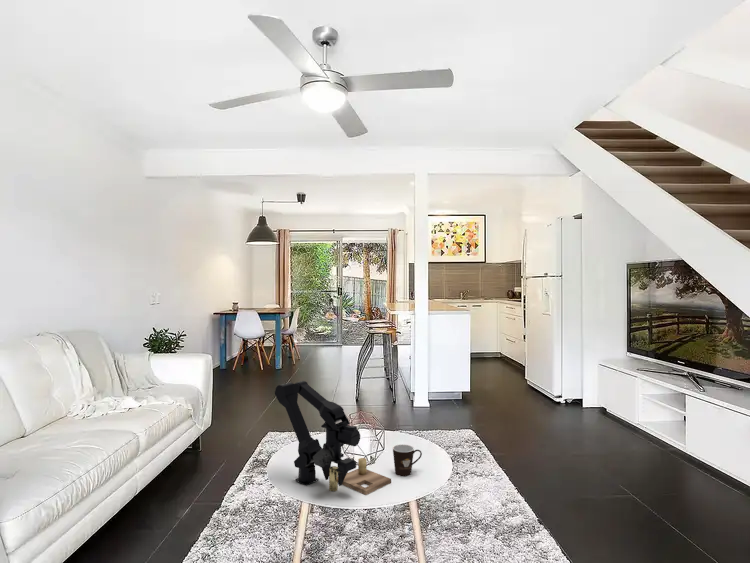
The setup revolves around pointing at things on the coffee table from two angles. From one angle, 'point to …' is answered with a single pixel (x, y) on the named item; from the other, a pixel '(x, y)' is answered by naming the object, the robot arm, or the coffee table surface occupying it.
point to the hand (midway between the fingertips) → (333, 482)
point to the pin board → (364, 479)
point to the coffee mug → (404, 459)
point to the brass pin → (333, 478)
